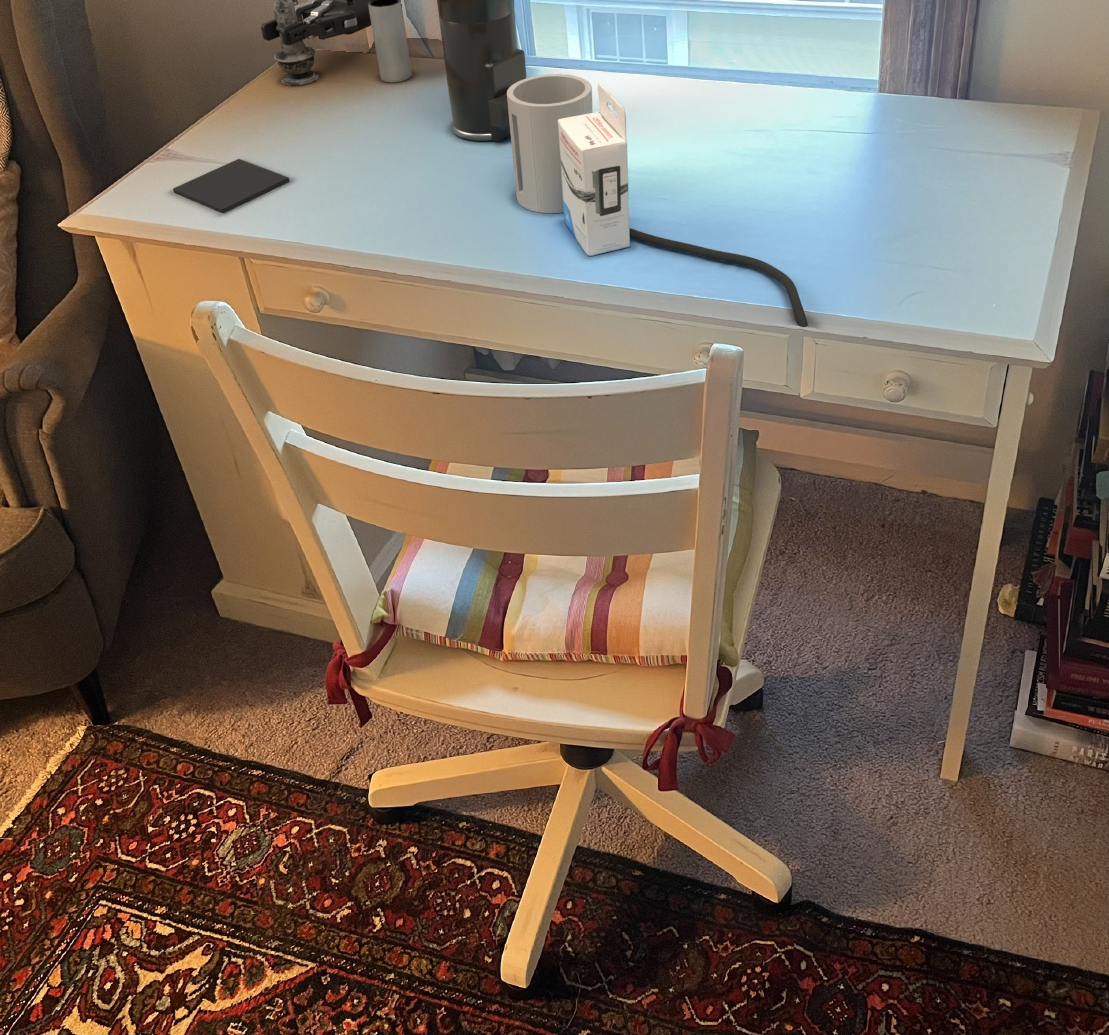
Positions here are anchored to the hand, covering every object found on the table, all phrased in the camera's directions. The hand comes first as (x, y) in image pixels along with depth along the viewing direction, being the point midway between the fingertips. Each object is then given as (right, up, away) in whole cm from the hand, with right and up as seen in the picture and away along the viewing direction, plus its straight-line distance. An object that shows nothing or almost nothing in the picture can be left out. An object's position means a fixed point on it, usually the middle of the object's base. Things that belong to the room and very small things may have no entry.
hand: (274, 35), depth 152 cm
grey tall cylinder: (+16, -4, +4) cm, 18 cm away
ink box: (+44, -37, -35) cm, 67 cm away
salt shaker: (+2, -4, +6) cm, 8 cm away
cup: (+39, -30, -27) cm, 57 cm away
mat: (0, -27, -20) cm, 33 cm away
